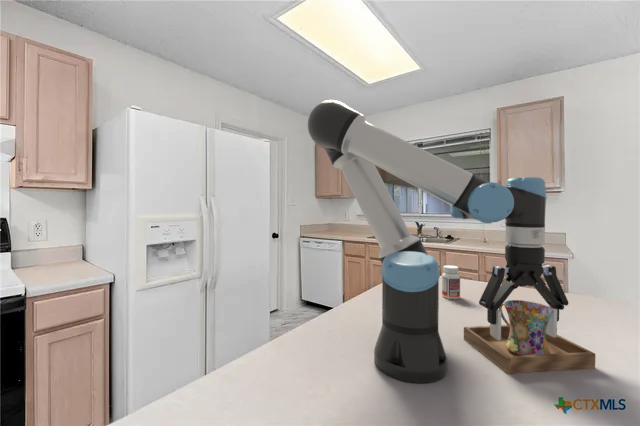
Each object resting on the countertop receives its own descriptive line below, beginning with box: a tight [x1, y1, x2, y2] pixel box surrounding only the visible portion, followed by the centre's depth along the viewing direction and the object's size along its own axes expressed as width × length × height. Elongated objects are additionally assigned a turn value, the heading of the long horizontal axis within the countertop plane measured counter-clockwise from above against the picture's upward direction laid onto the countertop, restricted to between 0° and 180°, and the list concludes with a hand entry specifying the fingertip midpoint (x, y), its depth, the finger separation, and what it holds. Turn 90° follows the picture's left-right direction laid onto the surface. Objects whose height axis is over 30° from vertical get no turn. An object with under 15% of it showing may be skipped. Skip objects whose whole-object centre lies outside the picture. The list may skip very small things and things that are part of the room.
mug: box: [498, 299, 554, 356], centre depth 69 cm, size 12×9×11 cm
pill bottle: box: [441, 264, 461, 300], centre depth 110 cm, size 6×6×11 cm
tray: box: [463, 324, 596, 374], centre depth 69 cm, size 20×16×3 cm
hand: (522, 336), depth 69 cm, fingers open, 13 cm apart
